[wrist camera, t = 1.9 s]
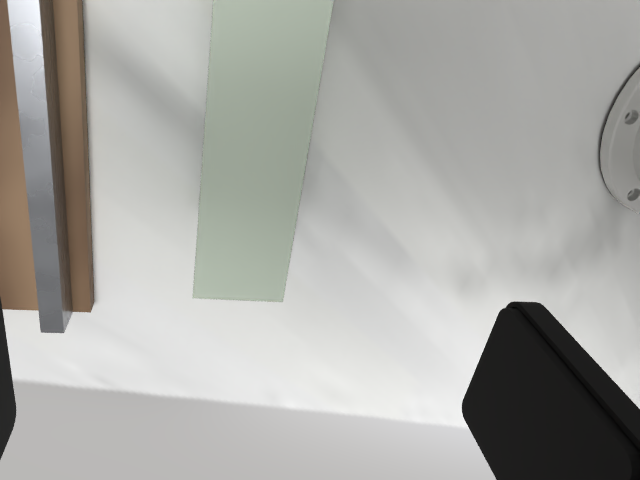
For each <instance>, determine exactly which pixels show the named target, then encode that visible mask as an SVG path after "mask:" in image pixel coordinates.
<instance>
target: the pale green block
mask: <svg viewBox="0 0 640 480" xmlns="http://www.w3.org/2000/svg"><path fill="white" fill-rule="evenodd" d="M333 2H334V0H213V11H212V25H211V40H210V54H209V69H208V83H207V98H206V112H205V127H204V141H203V155H202V170H201V184H200V199H199V213H198V228H197V242H196V256H195V271H194V285H193V298H199V299H221V300H244V301H267V302H283V298H284V292H285V286H286V280H287V274H288V268H289V262H290V256H291V250H292V245H293V239H294V233H295V227H296V221H297V215H298V209H299V203H300V197H301V191H302V185H303V180H304V174H305V168H306V162H307V156H308V150H309V144H310V138H311V132H312V126H313V120H314V115H315V109H316V103H317V97H318V91H319V85H320V79H321V73H322V67H323V61H324V56H325V50H326V44H327V38H328V32H329V26H330V20H331V14H332V8H333Z"/></svg>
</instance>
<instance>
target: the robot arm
mask: <svg viewBox="0 0 640 480" xmlns="http://www.w3.org/2000/svg"><path fill="white" fill-rule="evenodd" d="M600 161H601V171H602V175H603V178H604V181H605V184H606V186H607V188H608V189H609V191H610V192H611V194H612V196H613V197H615V198H616V199H617V200H618V201H619V202H620V203H621V204H622V205H624V206H626V207H627V208H629V209H631V210H632V211H634V212H635V213H638V214H640V67H639V69H638V70H637V71H636V72H635V73H634V74H633V75H632V77H631V78H630V79H629V81H628V82H627V84H626V85H625V87H624V88H623V90H622V91H621V93H620V94H619V96H618V97H617V99H616V102H615V104H614V106H613V108H612V110H611V112H610V114H609V116H608V119H607V122H606V125H605V129H604V132H603V135H602V142H601V150H600ZM462 413H463V417H464V419H465V421H466V423H467V425H468V427H469V429H470V431H471V433H472V434H473V436H474V438H475V440H476V442H477V444H478V446H479V447H480V449H481V451H482V453H483V455H484V457H485V459H486V460H487V462H488V464H489V466H490V468H491V470H492V472H493V473H494V475H495V477H496V479H497V480H640V409H639V408H638V407H637V406H636V405H635V404H634V403H633V402H632V401H631V399H630V398H629V397H628V396H627V395H626V394H625V393H624V392H623V391H622V390H621V389H620V388H619V386H618V385H617V384H616V383H615V382H614V381H613V380H612V379H611V378H610V377H609V376H608V375H607V374H606V372H605V371H604V370H603V369H602V368H601V367H600V366H599V365H598V364H597V363H596V362H595V361H594V360H593V358H592V357H591V356H590V355H589V354H588V353H587V352H586V351H585V350H584V349H583V348H582V347H581V345H580V344H579V343H578V342H577V341H576V340H575V339H574V338H573V337H572V336H571V335H570V334H569V333H568V331H567V330H566V329H565V328H564V327H563V326H562V325H561V324H560V323H559V322H558V321H557V320H556V319H555V317H554V316H553V315H552V314H551V313H550V312H549V311H548V310H547V309H546V308H545V307H544V306H543V305H542V304H541V303H537V302H511V303H509V304H508V305H507V307H506V308H504V309H502V310H501V311H500V312H499V314H498V317H497V319H496V321H495V324H494V326H493V329H492V331H491V334H490V336H489V338H488V341H487V343H486V346H485V348H484V351H483V353H482V355H481V358H480V360H479V363H478V365H477V368H476V370H475V372H474V375H473V377H472V380H471V382H470V384H469V387H468V389H467V392H466V394H465V397H464V399H463V402H462ZM15 418H16V403H15V396H14V389H13V382H12V375H11V368H10V360H9V353H8V346H7V339H6V332H5V325H4V318H3V311H2V304H1V297H0V459H1V456H2V454H3V452H4V449H5V447H6V445H7V442H8V440H9V437H10V435H11V432H12V430H13V427H14V423H15Z"/></svg>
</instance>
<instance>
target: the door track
mask: <svg viewBox="0 0 640 480" xmlns="http://www.w3.org/2000/svg"><path fill="white" fill-rule="evenodd" d="M0 297H1V304H2V309H13V310H39V318H40V328H41V332H44V333H64V332H65V329H66V327H67V325H68V322H69V320H70V317H71V315H72V312H91V310H92V307H93V304H94V287H93V261H92V236H91V210H90V185H89V159H88V134H87V108H86V83H85V57H84V32H83V6H82V0H0Z"/></svg>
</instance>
